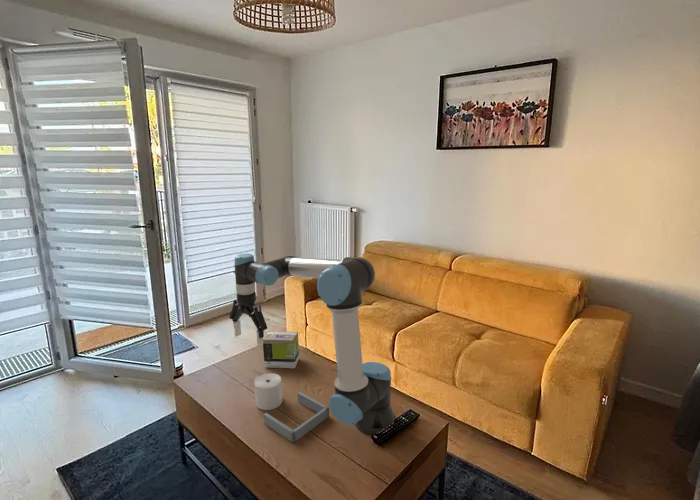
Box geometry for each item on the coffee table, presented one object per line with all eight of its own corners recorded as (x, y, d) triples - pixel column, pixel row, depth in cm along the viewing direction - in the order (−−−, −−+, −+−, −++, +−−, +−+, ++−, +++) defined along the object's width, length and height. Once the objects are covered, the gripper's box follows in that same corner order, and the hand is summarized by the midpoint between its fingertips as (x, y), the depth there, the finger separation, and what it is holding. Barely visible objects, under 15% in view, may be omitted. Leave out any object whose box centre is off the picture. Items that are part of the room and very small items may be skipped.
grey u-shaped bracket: (329, 416, 150) (328, 407, 149) (293, 443, 136) (292, 433, 135) (300, 400, 160) (299, 391, 159) (264, 423, 146) (263, 414, 145)
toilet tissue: (276, 412, 153) (275, 389, 150) (248, 408, 155) (246, 386, 153) (286, 396, 163) (285, 374, 161) (259, 392, 165) (258, 371, 163)
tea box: (299, 358, 193) (298, 331, 189) (294, 369, 183) (293, 340, 180) (270, 357, 194) (268, 330, 191) (263, 368, 185) (262, 339, 181)
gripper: (275, 295, 152) (276, 344, 158) (233, 283, 166) (236, 328, 171) (260, 301, 146) (263, 352, 152) (218, 288, 160) (222, 335, 165)
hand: (248, 339), depth 162 cm, fingers open, 13 cm apart
